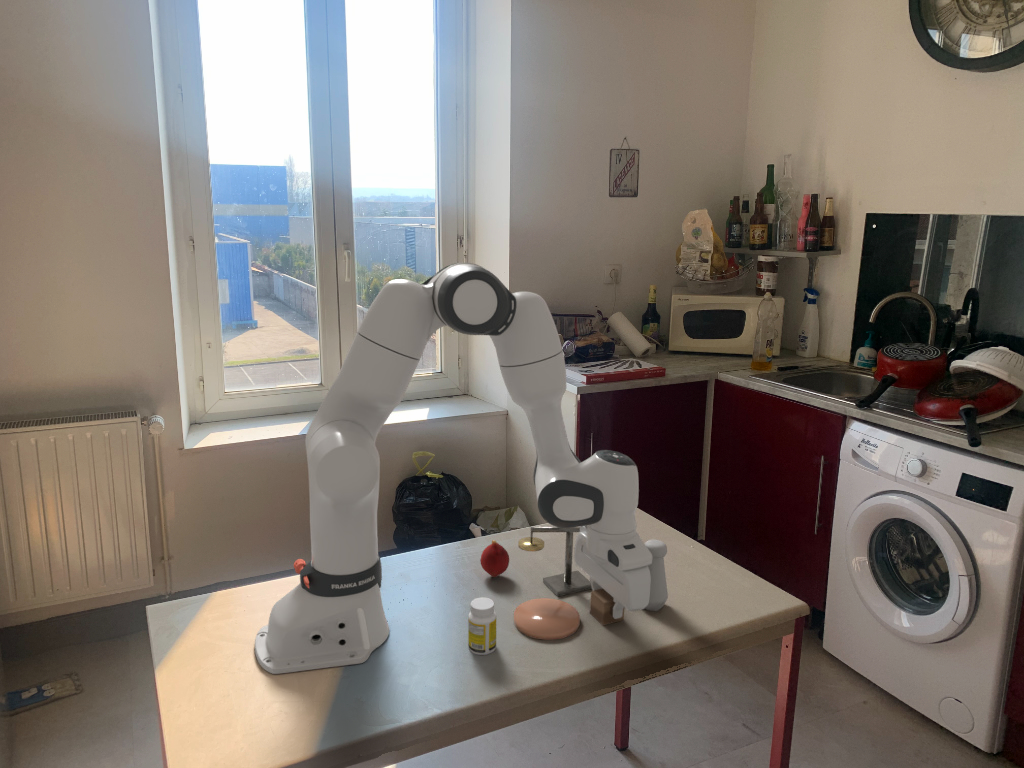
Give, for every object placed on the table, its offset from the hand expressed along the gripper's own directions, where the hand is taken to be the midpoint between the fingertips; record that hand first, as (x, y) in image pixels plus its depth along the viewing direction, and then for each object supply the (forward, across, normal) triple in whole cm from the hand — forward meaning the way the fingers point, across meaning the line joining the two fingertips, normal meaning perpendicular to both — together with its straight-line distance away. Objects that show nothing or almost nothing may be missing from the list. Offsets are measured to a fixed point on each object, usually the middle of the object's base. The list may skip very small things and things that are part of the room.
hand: (607, 608), depth 136 cm
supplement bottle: (+2, 0, -25) cm, 25 cm away
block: (+2, 0, 0) cm, 2 cm away
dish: (+2, -3, -11) cm, 12 cm away
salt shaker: (+2, 0, +10) cm, 10 cm away
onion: (+2, -22, -13) cm, 26 cm away
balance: (+2, -13, -1) cm, 13 cm away
